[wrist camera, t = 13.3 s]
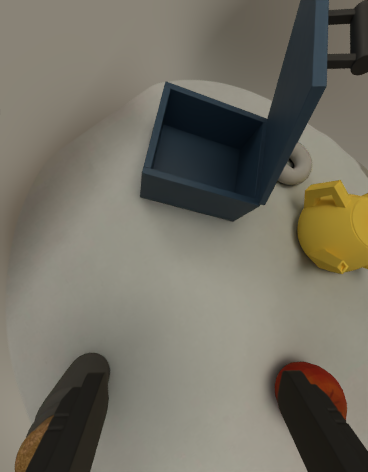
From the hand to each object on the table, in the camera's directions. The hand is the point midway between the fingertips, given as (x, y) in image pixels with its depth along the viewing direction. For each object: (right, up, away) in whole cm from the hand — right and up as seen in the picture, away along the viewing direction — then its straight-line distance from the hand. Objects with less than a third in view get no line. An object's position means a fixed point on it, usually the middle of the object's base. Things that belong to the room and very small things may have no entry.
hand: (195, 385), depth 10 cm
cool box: (+2, +19, +31) cm, 37 cm away
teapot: (+29, +7, +35) cm, 46 cm away
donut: (+21, +22, +37) cm, 48 cm away
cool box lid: (+11, +22, +15) cm, 28 cm away
